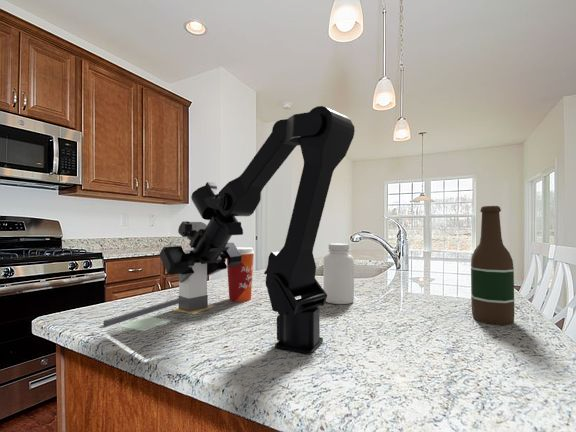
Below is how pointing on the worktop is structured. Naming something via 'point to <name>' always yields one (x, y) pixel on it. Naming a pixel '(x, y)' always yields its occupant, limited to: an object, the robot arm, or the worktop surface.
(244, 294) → the paper cup
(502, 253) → the beer bottle
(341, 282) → the pill bottle
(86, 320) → the worktop surface
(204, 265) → the plug
